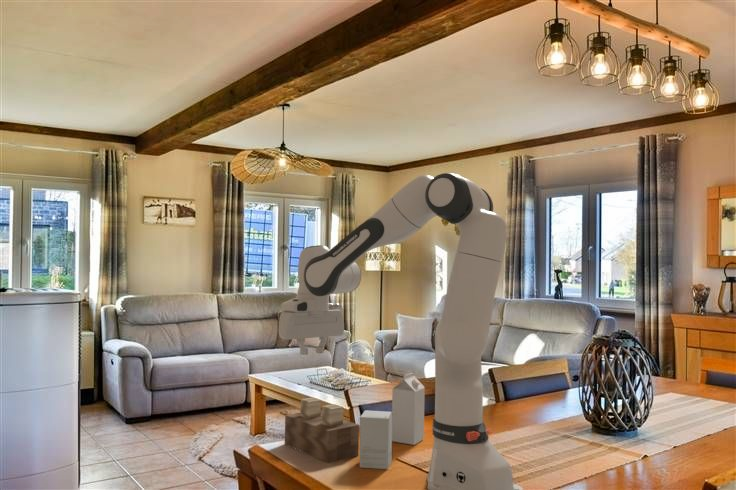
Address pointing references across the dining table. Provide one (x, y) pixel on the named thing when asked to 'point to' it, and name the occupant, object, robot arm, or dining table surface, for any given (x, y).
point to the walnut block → (322, 437)
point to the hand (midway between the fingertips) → (312, 353)
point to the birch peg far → (310, 408)
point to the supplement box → (375, 439)
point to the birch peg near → (332, 415)
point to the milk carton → (408, 411)
